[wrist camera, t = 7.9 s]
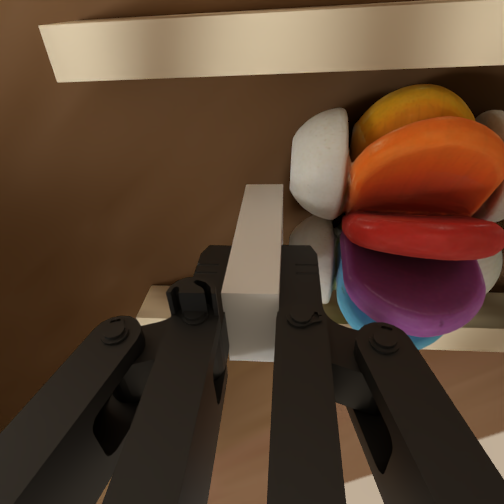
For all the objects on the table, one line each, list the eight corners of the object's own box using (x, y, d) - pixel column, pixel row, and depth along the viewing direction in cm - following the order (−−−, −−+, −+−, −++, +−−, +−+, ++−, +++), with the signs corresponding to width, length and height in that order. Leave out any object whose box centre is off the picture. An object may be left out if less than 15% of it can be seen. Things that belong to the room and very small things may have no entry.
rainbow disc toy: (531, 72, 13) (732, 140, 7) (452, 280, 19) (527, 414, 13) (292, 76, 14) (292, 141, 8) (286, 275, 19) (284, 399, 13)
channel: (157, 305, 21) (125, 379, 17) (77, 20, 13) (-19, 32, 9) (540, 316, 19) (607, 403, 15) (735, -18, 11) (995, -23, 7)
